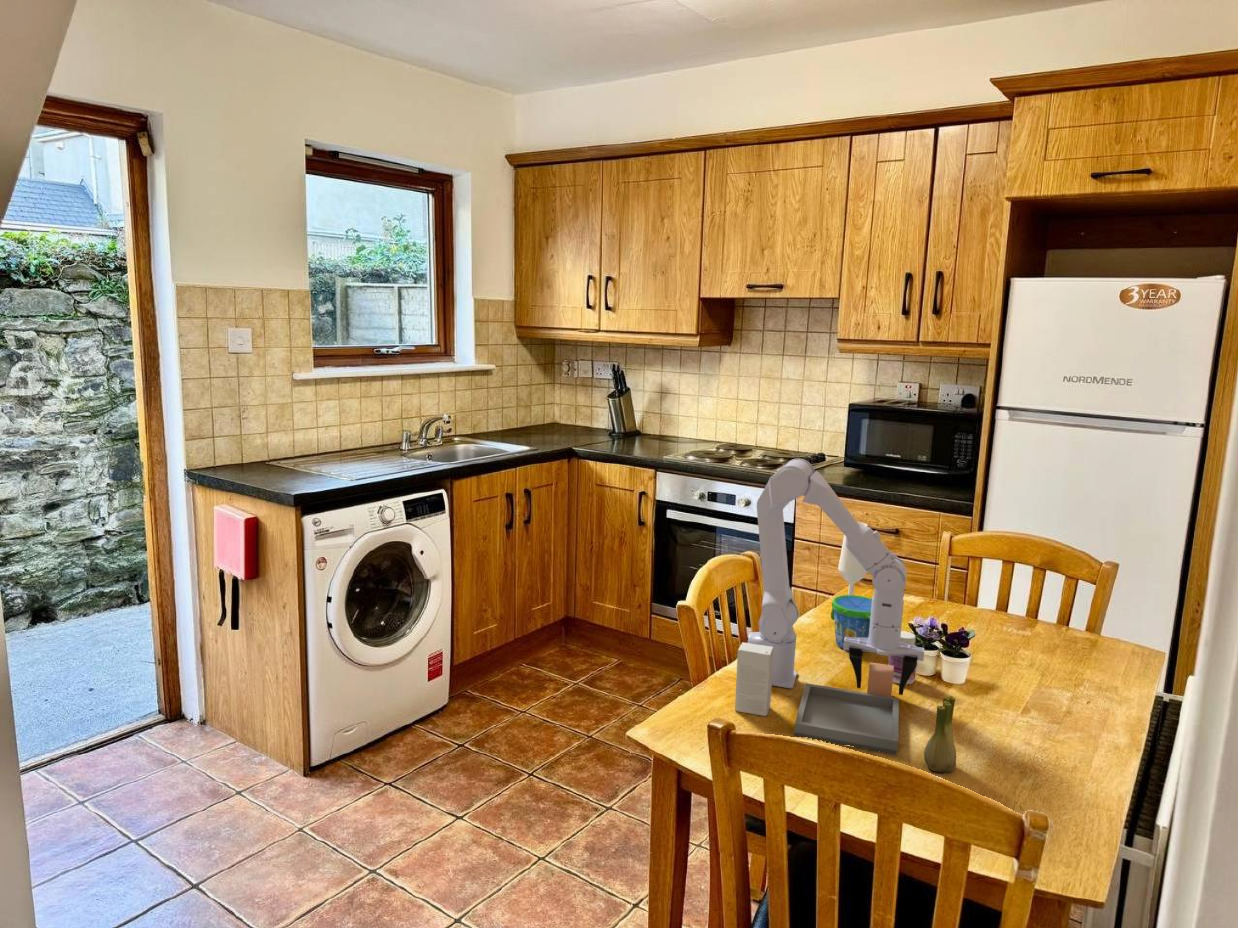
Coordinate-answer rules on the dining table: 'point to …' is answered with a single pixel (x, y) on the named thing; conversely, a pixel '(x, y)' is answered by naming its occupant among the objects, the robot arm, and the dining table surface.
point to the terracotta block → (880, 679)
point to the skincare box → (754, 679)
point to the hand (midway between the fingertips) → (879, 689)
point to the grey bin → (849, 718)
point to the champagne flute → (850, 566)
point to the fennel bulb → (942, 740)
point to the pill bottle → (897, 661)
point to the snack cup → (851, 617)
